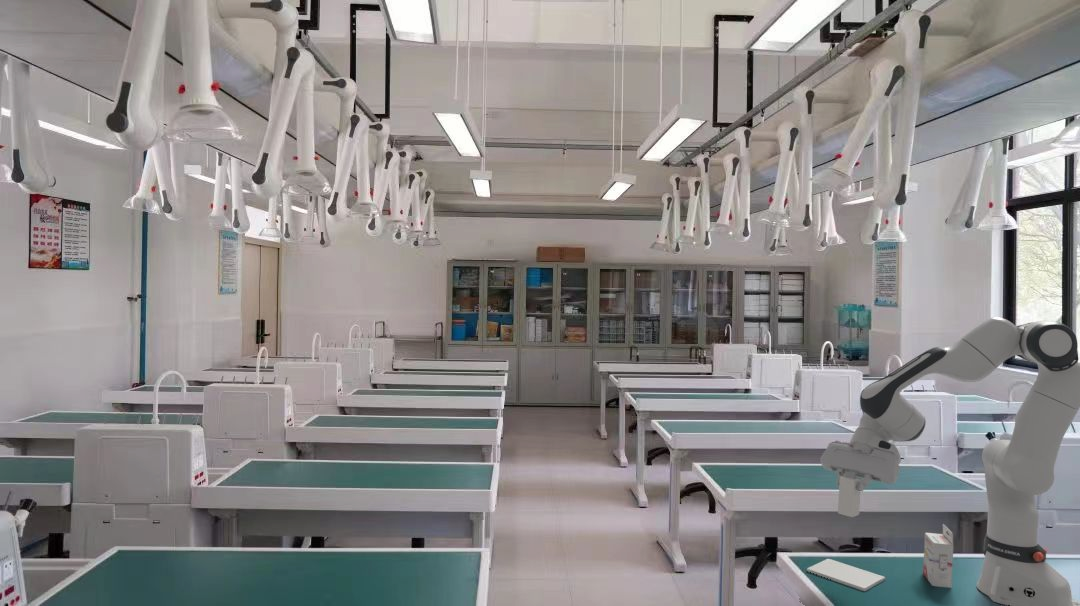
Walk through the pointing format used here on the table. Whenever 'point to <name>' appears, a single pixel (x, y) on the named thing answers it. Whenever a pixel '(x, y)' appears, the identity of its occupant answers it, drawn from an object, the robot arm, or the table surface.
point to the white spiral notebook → (846, 574)
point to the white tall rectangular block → (849, 495)
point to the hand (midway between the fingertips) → (848, 487)
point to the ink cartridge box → (938, 558)
